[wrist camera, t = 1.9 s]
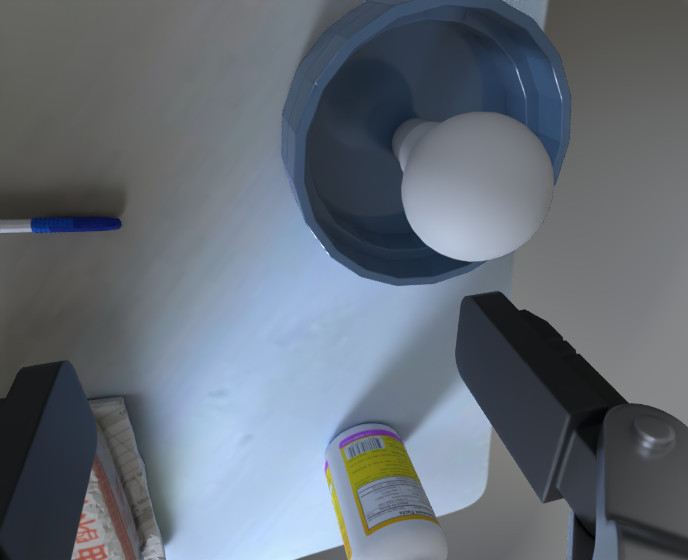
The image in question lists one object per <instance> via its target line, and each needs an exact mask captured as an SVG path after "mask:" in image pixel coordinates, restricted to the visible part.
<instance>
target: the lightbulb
mask: <svg viewBox="0 0 688 560" xmlns="http://www.w3.org/2000/svg"><path fill="white" fill-rule="evenodd" d="M392 150H393V153H394V155H395V157H396V159H397V160H398V161H399V162H400V166H401V168H402V170H403V172H404V173H403V179H402V186H401V191H402V202H403V206H404V210H405V213H406V217H407V219H408V221H409V223H410V225H411V227H412V229H413V230H414V232H415V233H416V234H417V235H418V236H419V237H420V238H421V240H422V241H423V242H424V243H425V244H426V245H428V246H429V247H431V248H432V249H434V250H435V251H437V252H438V253H440V254H442V255H445V256H448V257H450V258H453V259H457V260H462V261H469V262H472V261H485V260H490V259H495V258H499V257H501V256H504V255H506V254H508V253H510V252H512V251H514V250H515V249H517V248H519V247H520V246H522V245H523V244H524V243H525V242H527V241H528V240H529V239H530V238H531V237H532V236H533V235H534V234H535V233H536V231H537V230H538V229H539V227H540V226H541V224H542V223H543V221H544V219H545V217H546V215H547V213H548V211H549V208H550V205H551V201H552V197H553V190H554V178H553V167H552V164H551V160H550V157H549V155H548V153H547V151H546V149H545V148H544V146H543V144H542V142H541V141H540V139H539V138H538V137H537V136H536V135H535V134H534V133H533V132H532V131H531V130H530V129H529V128H528V127H527V126H526V125H524V124H522V123H521V122H519V121H517V120H516V119H514V118H511V117H509V116H506V115H503V114H499V113H496V112H469V113H464V114H459V115H457V116H454V117H452V118H449V119H447V120H445V121H443V122H442V123H441V122H436V121H428V120H425V119H422V118H411V119H408V120H406V121H404V122H403V123H402V124H400V125H399V126H398V128H397V129H396V131H395V132H394V135H393V138H392Z"/></svg>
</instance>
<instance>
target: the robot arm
mask: <svg viewBox="0 0 688 560" xmlns="http://www.w3.org/2000/svg"><path fill="white" fill-rule="evenodd" d="M455 357H456V364H457V368H458V371H459V374H460V376H461V378H462V379H463V381H464V383H465V384H466V386H467V387H468V389H469V390H470V392H471V393H472V395H473V396H474V398H475V400H476V401H477V403H478V404H479V406H480V407H481V409H482V410H483V412H484V414H485V415H486V417H487V418H488V420H489V421H490V423H491V424H492V426H493V427H494V429H495V431H496V432H497V434H498V435H499V437H500V438H501V440H502V441H503V443H504V444H505V446H506V448H507V449H508V451H509V452H510V454H511V455H512V457H513V458H514V460H515V462H516V463H517V464H518V466H519V468H520V469H521V471H522V472H523V474H524V475H525V477H526V479H527V480H528V482H529V483H530V485H531V486H532V488H533V489H534V491H535V492H536V494H537V496H538V497H539V499H540V500H541V502H542V503H547V502H551V501H555V500H559V499H562V498H565V500H566V501H567V502H568V504H569V506H570V507H571V508H572V510H571V513H570V516H569V524H568V541H567V559H566V560H688V427H687V426H686V425H685V424H683V423H682V422H681V421H679V420H678V419H677V418H675V417H674V416H672V415H670V414H668V413H666V412H664V411H662V410H660V409H657V408H654V407H651V406H648V405H642V404H633V403H630V404H629V403H628V402H627V401H626V400H625V399H624V398H623V397H622V396H621V395H620V394H619V393H618V392H617V391H616V390H615V389H614V388H613V387H612V386H611V385H610V384H609V383H608V382H607V381H606V380H605V379H604V378H603V377H602V376H601V375H600V374H599V373H598V372H597V371H596V370H595V369H594V368H593V367H592V366H591V365H590V364H589V363H588V362H587V361H586V360H585V359H584V358H583V357H582V356H581V355H580V354H577V353H576V350H575V349H574V348H573V347H572V346H571V345H570V344H569V343H568V342H567V341H564V340H563V337H562V336H561V335H560V334H559V333H558V332H557V331H556V330H555V329H554V328H553V327H552V326H551V325H550V324H549V323H548V322H547V321H545V320H543V319H541V318H540V317H538V316H536V315H534V314H532V313H530V312H529V311H527V310H520V311H519V310H518V309H517V308H516V307H515V306H514V305H513V304H512V303H511V302H510V301H509V300H508V299H507V298H506V296H505V295H504V294H502V293H501V292H499V291H494V292H488V293H482V294H476V295H470V296H465V297H464V298H463V300H462V302H461V307H460V316H459V324H458V332H457V341H456V349H455ZM96 448H97V427H96V421H95V418H94V415H93V412H92V410H91V408H90V405H89V403H88V400H87V398H86V395H85V393H84V391H83V388H82V386H81V383H80V381H79V379H78V376H77V374H76V371H75V369H74V367H73V365H72V364H71V363H70V362H69V361H67V360H64V361H58V362H52V363H46V364H40V365H34V366H28V367H23V368H21V369H20V370H19V372H18V373H17V375H16V378H15V380H14V382H13V384H12V386H11V388H10V390H9V392H8V394H7V397H6V398H2V399H0V560H71V558H72V554H73V550H74V545H75V541H76V536H77V532H78V528H79V523H80V519H81V515H82V510H83V506H84V501H85V497H86V493H87V488H88V484H89V480H90V475H91V471H92V466H93V462H94V458H95V453H96Z"/></svg>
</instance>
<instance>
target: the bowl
mask: <svg viewBox="0 0 688 560" xmlns="http://www.w3.org/2000/svg"><path fill="white" fill-rule="evenodd" d="M469 112H496V113H499V114H503V115H506V116H509V117H511V118H514V119H516V120H517V121H519V122H521V123H522V124H524V125H526V126H527V127H528V128H529V129H530V130H531V131H532V132H533V133H534V134H535V135H536V136H537V137H538V138H539V139H540V141H541V142H542V144H543V146H544V148H545V149H546V151H547V153H548V155H549V157H550V160H551V164H552V167H553V178H554V185H555V184H556V181H557V179H558V176H559V172H560V169H561V166H562V163H563V160H564V157H565V153H566V150H567V147H568V144H569V139H570V114H571V94H570V91H569V87H568V83H567V80H566V76H565V72H564V69H563V65H562V62H561V58H560V55H559V53H558V52H557V50H556V49H555V48H554V46H553V45H552V43H551V42H550V41H549V39H548V38H547V37H546V35H545V34H544V33H543V31H542V30H541V28H540V27H539V26H538V24H537V23H536V22H535V20H534V19H532V18H531V17H529V16H528V15H526V14H524V13H523V12H521V11H519V10H517V9H516V8H514V7H512V6H510V5H509V4H507V3H505V2H504V1H502V0H367V1H366V2H363V3H362V4H361V5H359V6H358V7H356V8H355V9H354V10H352V11H351V12H349V13H348V14H347V15H345V16H344V17H342V18H341V19H340V20H338V21H337V22H335V23H334V24H333V25H331V26H330V27H328V28H327V30H325V31H324V33H323V34H322V36H321V37H320V38H319V40H318V41H317V42H316V44H315V45H314V46H313V48H312V49H311V50H310V52H309V53H308V55H307V56H306V57H305V59H304V60H303V61H302V63H301V64H300V65H299V67H298V69H297V71H296V74H295V77H294V80H293V83H292V86H291V88H290V91H289V94H288V97H287V100H286V103H285V106H284V109H283V114H282V149H281V155H282V160H283V163H284V166H285V170H286V173H287V176H288V179H289V183H290V186H291V189H292V193H293V195H294V197H295V200H296V202H297V204H298V206H299V209H300V211H301V214H302V216H303V218H304V221H305V223H306V225H307V226H308V228H309V229H310V230H311V232H312V233H313V235H314V236H315V237H316V239H317V240H318V241H319V243H320V244H321V245H322V247H323V248H324V249H325V251H326V252H327V253H328V255H329V256H330V257H331V258H333V259H334V260H336V261H338V262H339V263H341V264H342V265H344V266H345V267H347V268H348V269H350V270H351V271H353V272H354V273H356V274H357V275H359V276H361V277H364V278H367V279H371V280H375V281H379V282H383V283H387V284H391V285H395V286H396V285H397V286H403V285H422V284H434V283H438V282H441V281H444V280H447V279H450V278H453V277H456V276H459V275H462V274H465V273H468V272H470V271H472V270H474V269H475V268H477V267H478V266H480V265H481V264H483V263H485V262H486V261H488V260H485V261H472V262H469V261H462V260H457V259H453V258H450V257H448V256H445V255H442V254H440V253H438V252H437V251H435V250H434V249H432V248H431V247H429V246H428V245H426V244H425V243H424V242H423V241H422V240H421V238H420V237H419V236H418V235H417V234H416V233H415V232H414V230H413V229H412V227H411V225H410V223H409V221H408V219H407V217H406V213H405V210H404V206H403V202H402V191H401V186H402V179H403V173H404V172H403V170H402V168H401V166H400V162H399V161H398V160H397V159H396V157H395V155H394V153H393V150H392V138H393V135H394V132H395V131H396V129H397V128H398V126H399V125H400V124H402V123H403V122H404V121H406V120H408V119H411V118H422V119H425V120H428V121H436V122H441V123H442V122H443V121H445V120H447V119H449V118H452V117H454V116H457V115H459V114H464V113H469Z"/></svg>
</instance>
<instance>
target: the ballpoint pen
mask: <svg viewBox="0 0 688 560" xmlns="http://www.w3.org/2000/svg"><path fill="white" fill-rule="evenodd" d="M120 227H121V221H120V219H118V218H110V217H74V218H72V217H70V218H68V217H65V218H63V217H62V218H43V219H42V218H34V219H13V220H0V233H8V232H35V233H39V232H40V233H43V232H45V233H47V232H49V233H52V232H84V231H107V230H116V229H119V228H120Z"/></svg>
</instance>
